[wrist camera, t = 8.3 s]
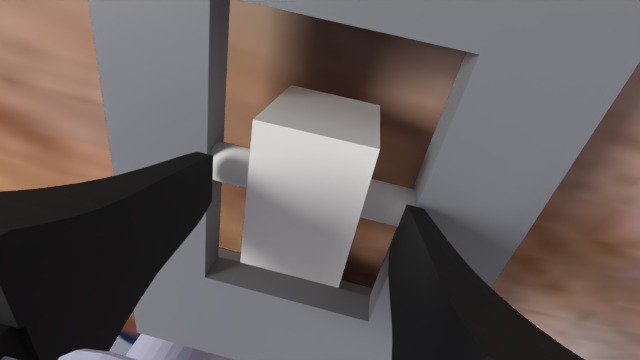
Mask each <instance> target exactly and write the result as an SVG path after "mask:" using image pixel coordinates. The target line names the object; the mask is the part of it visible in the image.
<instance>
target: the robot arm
mask: <svg viewBox="0 0 640 360" xmlns="http://www.w3.org/2000/svg"><path fill="white" fill-rule="evenodd" d="M212 181H213V155H209V154H205V153H201V152H193V153H189V154H186V155H182V156H179V157H176V158H173V159H170V160H167V161H164V162H160V163H157V164H154V165H151V166H148V167H144V168H141V169H137V170H134V171H130V172H127V173H123V174H119V175H115V176H111V177H107V178H103V179H98V180H93V181H87V182H82V183H76V184H69V185H62V186H55V187H47V188H40V189H29V190H18V191H3V192H0V360H233V359H230V358H226V357H223V356H219V355H215V354H212V353H208V352H205V351H201V350H198V349H194V348H191V347H187V346H183V345H180V344H176V343H173V342H169V341H166V340H162V339H159V338H155V337H151V336H148V335H144V334H141V335H140V336H139V338H138V339H137V340H136V342H135V343H134V345H133V346H132V347H131V349H130V350H129V352H128V353H127V355H126V356H122V355H119V354H115V353H112V352H109V350H110V348H111V347H112V345H113V344H114V342H115V340H116V338H117V337H118V335H119V333H120V332H121V330H122V328H123V326H124V325H125V323H126V322H127V320H128V318H129V317H130V315H131V314H132V312H133V310H134V309H135V307H136V306H137V304H138V302H139V301H140V299H141V298H142V296H143V295H144V293H145V292H146V290H147V289H148V287H149V286H150V284H151V283H152V281H153V279H154V278H155V277H156V275H157V274H158V273H159V271H160V270H161V269H162V267H163V266H164V265H165V264H166V262H167V261H168V260H169V259H170V258H171V256H172V255H173V254H174V253H175V252H176V250H177V249H178V248H179V247H180V245H181V244H182V243H183V242H184V241H185V239H186V238H187V237H188V236H189V235H190V233H191V232H192V231H193V230H194V228H195V227H196V226H197V225H198V223H199V222H200V221H201V219H202V217H203V216H204V214H205V213H206V211H207V209H208V207H209V206H210V204H211V202H212ZM388 279H389V294H390V308H391V322H392V360H584V359H583V358H581V357H580V356H578V355H577V354H575V353H573V352H572V351H570V350H569V349H567V348H566V347H564V346H563V345H561V344H560V343H559V342H557V341H556V340H555V339H553V338H552V337H550V336H549V335H548V334H546V333H545V332H544V331H542V330H541V329H539V328H538V327H537V326H535V325H534V324H533V323H532V322H530V321H529V320H528V319H526V318H525V317H524V316H523V315H521V314H520V313H519V312H518V311H517V310H515V309H514V308H513V307H512V306H511V305H509V304H508V303H507V302H506V301H505V300H504V299H502V298H501V297H500V296H499V295H498V294H497V293H496V292H495V291H494V290H493V289H492V288H491V287H490V286H489V285H488V284H486V283H485V282H484V281H483V280H482V279H481V278H480V277H479V276H478V275H477V274H476V273H475V271H474V270H473V269H472V268H471V267H470V266H469V265H468V264H467V263H466V261H465V260H464V259H463V258H462V257H461V256H460V255H459V253H458V252H457V251H456V250H455V249H454V247H453V246H452V245H451V244H450V242H449V241H448V240H447V238H446V237H445V236H444V235H443V233H442V232H441V231H440V229H439V228H438V227H437V225H436V224H435V222H434V221H433V220H432V218H431V217H430V216H429V214H428V213H427V212H426V211H425V209H424V208H420V207H416V206H412V205H408V204H407V205H406V207H405V210H404V212H403V215H402V217H401V220H400V223H399V225H398V228H397V230H396V233H395V235H394V238H393V240H392V243H391V245H390V250H389V264H388Z"/></svg>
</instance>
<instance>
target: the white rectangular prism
mask: <svg viewBox="0 0 640 360" xmlns="http://www.w3.org/2000/svg"><path fill="white" fill-rule="evenodd" d="M379 151H380V105H376V104H372V103H367V102H363V101H359V100H354V99H350V98H345V97H341V96H337V95H332V94H328V93H324V92H319V91H315V90H311V89H306V88H302V87H297V86H293V85H291V86H289V87H288V88H287V89H286V90H285V91H284V92H283V93H282V94H281V95H279V96H278V97H277V98H276V99H275V100H274V101H273V102H272V103H270V104H269V105H268V106H267V107H266V108H265V109H264V110H263V111H262V112H260V113H259V114H258V115H257V116H256V117H255V118H254V119H253V123H252V135H251V146H250V157H249V168H248V180H247V191H246V202H245V214H244V225H243V236H242V248H241V259H240V262H241V263H245V264H249V265H253V266H256V267H260V268H264V269H268V270H272V271H276V272H279V273H283V274H287V275H291V276H295V277H299V278H303V279H306V280H310V281H314V282H318V283H322V284H326V285H329V286H333V287H337V288H339V284H340V281H341V278H342V274H343V271H344V268H345V264H346V261H347V258H348V254H349V251H350V248H351V244H352V241H353V238H354V234H355V231H356V228H357V224H358V221H359V218H360V215H361V211H362V208H363V205H364V201H365V198H366V195H367V191H368V188H369V185H370V181H371V178H372V175H373V171H374V168H375V165H376V161H377V158H378V155H379Z"/></svg>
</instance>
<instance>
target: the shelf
mask: <svg viewBox="0 0 640 360" xmlns="http://www.w3.org/2000/svg"><path fill="white" fill-rule="evenodd" d="M241 1H245V2H250V3H254V4H259V5H263V6H267V7H272V8H276V9H281V10H285V11H290V12H294V13H298V14H303V15H307V16H312V17H316V18H320V19H325V20H329V21H334V22H338V23H342V24H347V25H351V26H356V27H360V28H364V29H369V30H373V31H378V32H382V33H387V34H391V35H395V36H400V37H404V38H409V39H413V40H417V41H422V42H426V43H431V44H435V45H439V46H444V47H448V48H453V49H457V50H461V51H466V53H465V56H464V59H463V61H462V64H461V66H460V69H459V71H458V74H457V76H456V79H455V81H454V84H453V86H452V89H451V92H450V94H449V97H448V99H447V102H446V104H445V107H444V109H443V112H442V114H441V117H440V120H439V122H438V125H437V127H436V130H435V132H434V135H433V137H432V140H431V142H430V145H429V147H428V150H427V153H426V155H425V158H424V160H423V163H422V165H421V168H420V170H419V173H418V175H417V178H416V180H415V183H414V186H413V188H412V189H411V188H407V187H403V186H399V185H395V184H391V183H387V182H383V181H379V180H375V179H371V181H370V185H369V188H368V191H367V195H366V198H365V201H364V205H363V208H362V211H361V215H360V218H364V219H368V220H372V221H376V222H380V223H384V224H388V225H392V226H396V227H397V228H398V225H399V223H400V220H401V217H402V215H403V212H404V210H405V207H406V205H407V204H408V205H412V206H416V207H420V208H424V209H425V211H426V212H427V213H428V214H429V216H430V217H431V218H432V220H433V221H434V222H435V224H436V225H437V227H438V228H439V229H440V231H441V232H442V233H443V235H444V236H445V237H446V238H447V240H448V241H449V242H450V244H451V245H452V246H453V247H454V249H455V250H456V251H457V252H458V253H459V255H460V256H461V257H462V258H463V259H464V260H465V261H466V263H467V264H468V265H469V266H470V267H471V268H472V269H473V270H474V271H475V273H476V274H477V275H478V276H479V277H480V278H481V279H482V280H483V281H484V282H485V283H486V284H488V285H489V286H490V287H492V286H493V284H494V283H495V281H496V280H497V278H498V277H499V275H500V274H501V272H502V271H503V269H504V268H505V266H506V265H507V263H508V262H509V260H510V258H511V257H512V255H513V254H514V252H515V251H516V249H517V248H518V246H519V245H520V243H521V242H522V240H523V239H524V237H525V236H526V234H527V233H528V231H529V230H530V228H531V227H532V225H533V223H534V222H535V220H536V219H537V217H538V216H539V214H540V213H541V211H542V210H543V208H544V207H545V205H546V204H547V202H548V201H549V199H550V198H551V196H552V195H553V193H554V191H555V190H556V188H557V187H558V185H559V184H560V182H561V181H562V179H563V178H564V176H565V175H566V173H567V172H568V170H569V169H570V167H571V166H572V164H573V163H574V161H575V160H576V158H577V156H578V155H579V153H580V152H581V150H582V149H583V147H584V146H585V144H586V143H587V141H588V140H589V138H590V137H591V135H592V134H593V132H594V131H595V129H596V128H597V126H598V125H599V123H600V121H601V120H602V118H603V117H604V115H605V114H606V112H607V111H608V109H609V108H610V106H611V105H612V103H613V102H614V100H615V99H616V97H617V96H618V94H619V93H620V91H621V90H622V88H623V86H624V85H625V83H626V82H627V80H628V79H629V77H630V76H631V74H632V73H633V71H634V70H635V68H636V67H637V65H638V64H639V62H640V0H241ZM88 4H89V10H90V17H91V24H92V31H93V37H94V44H95V51H96V58H97V64H98V71H99V78H100V85H101V92H102V98H103V105H104V112H105V119H106V125H107V132H108V139H109V146H110V152H111V159H112V166H113V173H114V176H115V175H119V174H123V173H127V172H130V171H134V170H137V169H141V168H144V167H148V166H151V165H154V164H157V163H160V162H164V161H167V160H170V159H173V158H176V157H179V156H182V155H186V154H189V153H193V152H201V153H205V154H209V155H213V181H212V202H211V204H210V206H209V207H208V209H207V211H206V213H205V214H204V216H203V217H202V219H201V221H200V222H199V223H198V225H197V226H196V227H195V228H194V230H193V231H192V232H191V233H190V235H189V236H188V237H187V238H186V239H185V241H184V242H183V243H182V244H181V245H180V247H179V248H178V249H177V250H176V252H175V253H174V254H173V255H172V256H171V258H170V259H169V260H168V261H167V262H166V264H165V265H164V266H163V267H162V269H161V270H160V271H159V273H158V274H157V275H156V277H155V278H154V279H153V281H152V283H151V284H150V286H149V287H148V289H147V290H146V292H145V293H144V295H143V296H142V298H141V299H140V301H139V302H138V304H137V306H136V307H135V309H134V315H135V322H136V328H137V333H141V334H144V335H148V336H151V337H155V338H159V339H162V340H166V341H169V342H173V343H176V344H180V345H183V346H187V347H191V348H194V349H198V350H201V351H205V352H208V353H212V354H215V355H219V356H223V357H226V358H230V359H233V360H392V322H391V308H390V294H389V279H388V264H389V250H390V247H389V249H388V252H387V254H386V257H385V259H384V262H383V264H382V267H381V269H380V272H379V274H378V277H377V280H376V282H375V285H374V287H373V288H370V287H366V286H362V285H358V284H355V283H351V282H347V281H343V280H341V281H340V284H339V288H337V287H333V286H329V285H326V284H322V283H318V282H314V281H310V280H306V279H303V278H299V277H295V276H291V275H287V274H283V273H279V272H276V271H272V270H268V269H264V268H260V267H256V266H253V265H249V264H245V263H241V262H240V259H241V253H238V252H234V251H230V250H226V249H223V248H219V230H220V208H221V185H222V182H223V183H227V184H231V185H235V186H239V187H243V188H247V180H248V168H249V157H250V148H246V147H242V146H238V145H234V144H230V143H226V142H223V141H224V119H225V96H226V74H227V52H228V30H229V7H230V0H88ZM396 230H397V229H396ZM395 233H396V231H395ZM394 235H395V234H394ZM393 238H394V236H393ZM392 240H393V239H392ZM391 243H392V241H391ZM390 245H391V244H390Z"/></svg>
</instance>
